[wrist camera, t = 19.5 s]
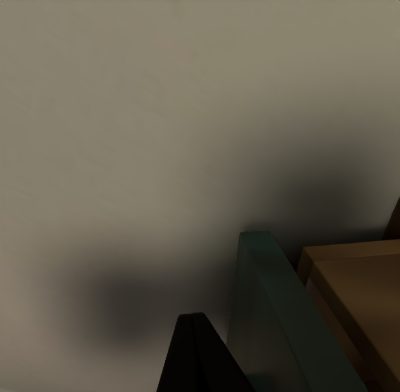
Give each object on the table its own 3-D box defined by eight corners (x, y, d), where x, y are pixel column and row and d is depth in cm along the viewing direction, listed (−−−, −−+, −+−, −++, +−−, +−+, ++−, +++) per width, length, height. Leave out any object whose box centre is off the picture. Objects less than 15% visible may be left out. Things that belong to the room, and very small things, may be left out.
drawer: (198, 397, 16) (221, 565, 11) (206, 233, 10) (261, 424, 5) (428, 362, 18) (535, 488, 13) (538, 209, 12) (804, 329, 7)
